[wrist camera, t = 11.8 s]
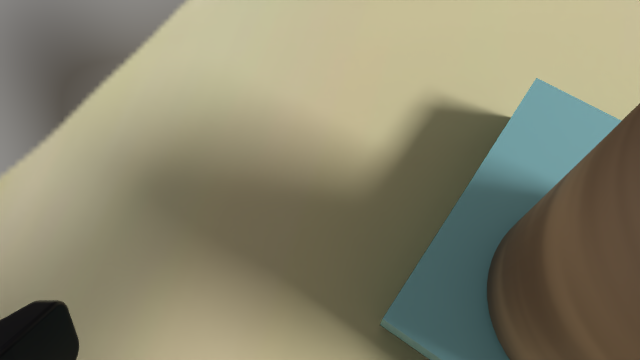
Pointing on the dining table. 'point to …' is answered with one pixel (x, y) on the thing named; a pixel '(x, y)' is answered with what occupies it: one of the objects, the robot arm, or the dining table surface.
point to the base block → (491, 225)
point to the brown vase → (575, 262)
